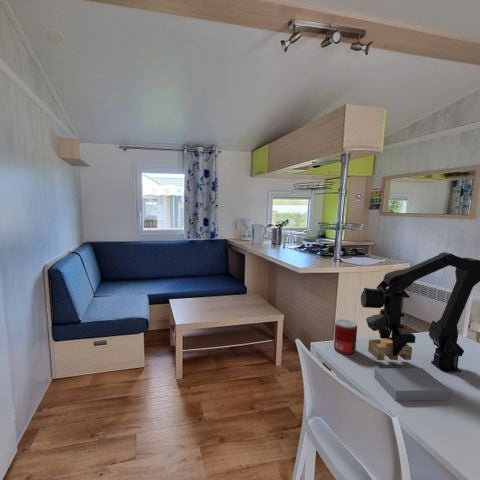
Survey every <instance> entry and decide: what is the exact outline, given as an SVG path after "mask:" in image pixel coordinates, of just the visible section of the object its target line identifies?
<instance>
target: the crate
mask: <svg viewBox="0 0 480 480" xmlns="http://www.w3.org/2000/svg"><path fill="white" fill-rule="evenodd" d="M379 339H380V344H381V345H382V346H384V347H393V342H392V341H391V339H390V338H379Z"/></svg>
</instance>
